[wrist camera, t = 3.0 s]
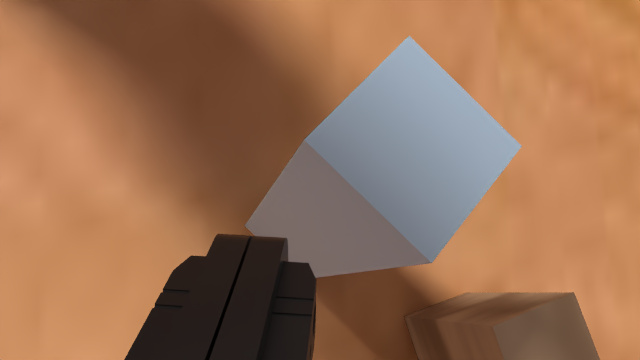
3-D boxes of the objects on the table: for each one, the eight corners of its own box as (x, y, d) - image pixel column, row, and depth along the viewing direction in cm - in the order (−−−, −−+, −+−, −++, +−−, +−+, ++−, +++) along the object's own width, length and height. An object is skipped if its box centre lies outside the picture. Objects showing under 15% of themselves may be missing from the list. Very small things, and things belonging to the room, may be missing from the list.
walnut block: (428, 392, 31) (531, 436, 21) (404, 316, 31) (492, 326, 22) (491, 364, 32) (613, 394, 23) (466, 292, 33) (574, 292, 23)
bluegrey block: (300, 279, 30) (431, 262, 13) (244, 225, 30) (303, 139, 13) (349, 224, 32) (521, 145, 15) (296, 172, 32) (409, 36, 15)
